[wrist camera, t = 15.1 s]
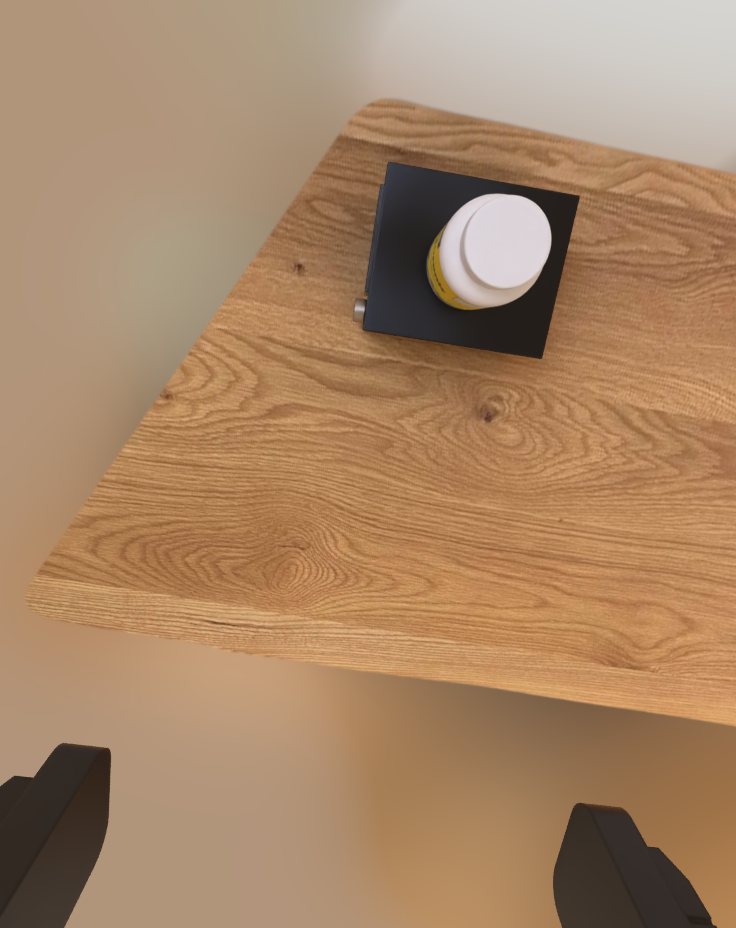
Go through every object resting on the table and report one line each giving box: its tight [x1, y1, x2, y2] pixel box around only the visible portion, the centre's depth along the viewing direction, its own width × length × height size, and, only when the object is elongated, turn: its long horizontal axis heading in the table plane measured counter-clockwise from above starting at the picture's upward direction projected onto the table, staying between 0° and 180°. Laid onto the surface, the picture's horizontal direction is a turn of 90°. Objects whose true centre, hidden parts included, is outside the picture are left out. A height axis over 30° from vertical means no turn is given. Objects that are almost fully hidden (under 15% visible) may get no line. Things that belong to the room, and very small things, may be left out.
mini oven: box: [353, 162, 580, 359], centre depth 37 cm, size 13×10×8 cm
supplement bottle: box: [427, 194, 551, 310], centre depth 28 cm, size 5×5×10 cm
